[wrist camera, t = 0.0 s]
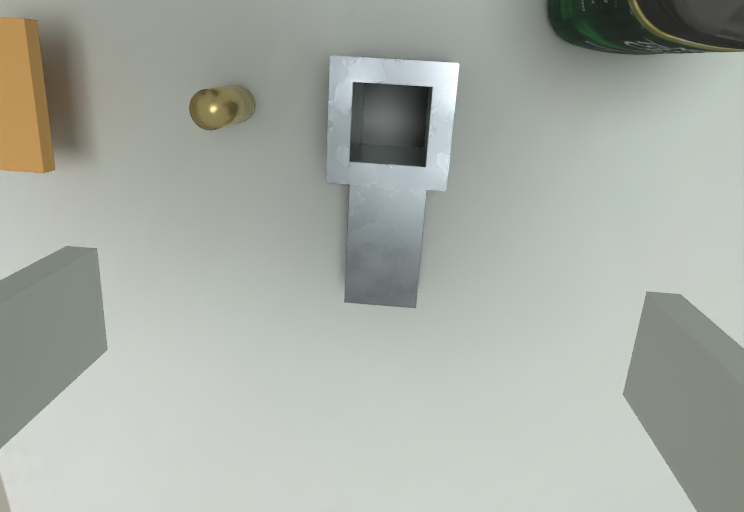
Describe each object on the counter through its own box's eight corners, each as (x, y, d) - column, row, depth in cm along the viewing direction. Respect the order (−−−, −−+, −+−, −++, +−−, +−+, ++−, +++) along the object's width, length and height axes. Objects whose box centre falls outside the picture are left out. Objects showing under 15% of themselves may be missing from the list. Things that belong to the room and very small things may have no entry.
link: (428, 287, 43) (431, 335, 36) (337, 280, 44) (321, 325, 36) (450, 63, 38) (459, 63, 30) (346, 57, 38) (329, 55, 31)
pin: (220, 84, 40) (188, 88, 34) (254, 86, 39) (228, 90, 34) (221, 120, 40) (190, 129, 35) (255, 122, 40) (229, 131, 34)
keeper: (1, 21, 39) (-74, 13, 33) (84, 25, 39) (24, 18, 33) (20, 152, 42) (-47, 166, 36) (97, 157, 42) (43, 173, 36)
